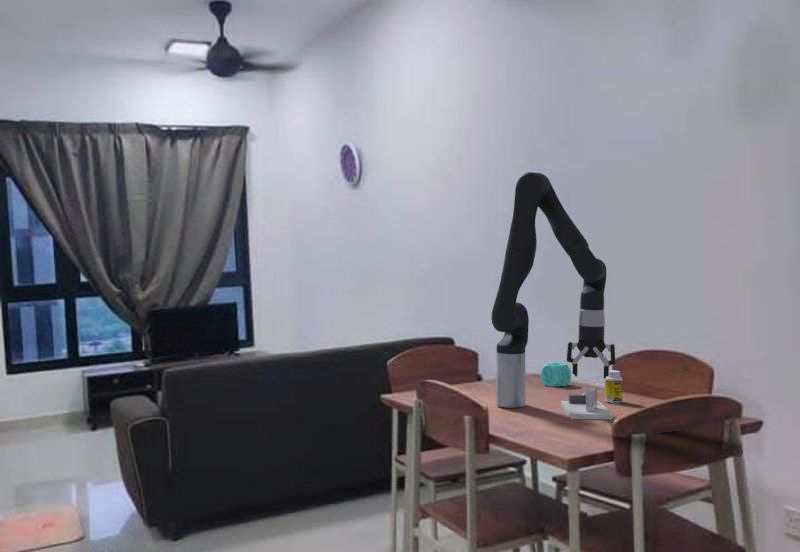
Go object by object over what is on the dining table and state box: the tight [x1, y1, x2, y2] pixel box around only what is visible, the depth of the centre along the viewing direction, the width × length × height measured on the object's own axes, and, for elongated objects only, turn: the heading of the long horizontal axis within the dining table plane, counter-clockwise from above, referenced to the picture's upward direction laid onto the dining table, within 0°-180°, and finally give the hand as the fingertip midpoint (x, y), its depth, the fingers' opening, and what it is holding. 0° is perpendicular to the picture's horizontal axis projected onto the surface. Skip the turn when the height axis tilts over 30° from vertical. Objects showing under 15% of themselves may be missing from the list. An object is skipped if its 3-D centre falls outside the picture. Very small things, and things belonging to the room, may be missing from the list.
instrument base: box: [560, 392, 614, 420], centre depth 230 cm, size 12×20×5 cm, turn 177°
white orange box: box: [585, 386, 598, 411], centre depth 227 cm, size 6×3×6 cm, turn 159°
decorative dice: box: [540, 362, 572, 388], centre depth 278 cm, size 8×8×8 cm
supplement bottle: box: [604, 369, 623, 404], centre depth 245 cm, size 6×6×10 cm
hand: (590, 377), depth 227 cm, fingers open, 8 cm apart
